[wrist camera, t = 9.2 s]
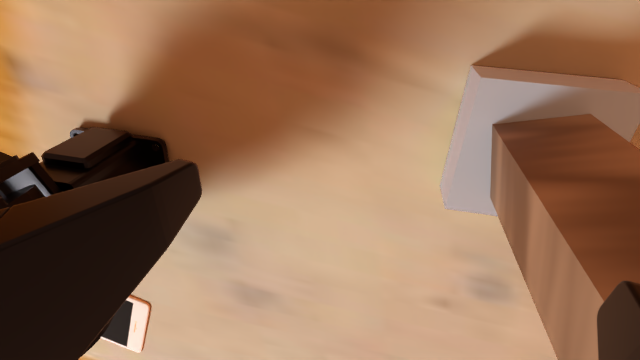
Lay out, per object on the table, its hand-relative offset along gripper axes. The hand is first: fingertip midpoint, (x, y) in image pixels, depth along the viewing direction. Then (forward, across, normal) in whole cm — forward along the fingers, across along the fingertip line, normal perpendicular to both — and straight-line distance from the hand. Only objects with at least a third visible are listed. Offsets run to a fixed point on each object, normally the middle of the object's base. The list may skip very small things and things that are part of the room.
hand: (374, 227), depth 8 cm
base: (+14, -5, +4) cm, 16 cm away
